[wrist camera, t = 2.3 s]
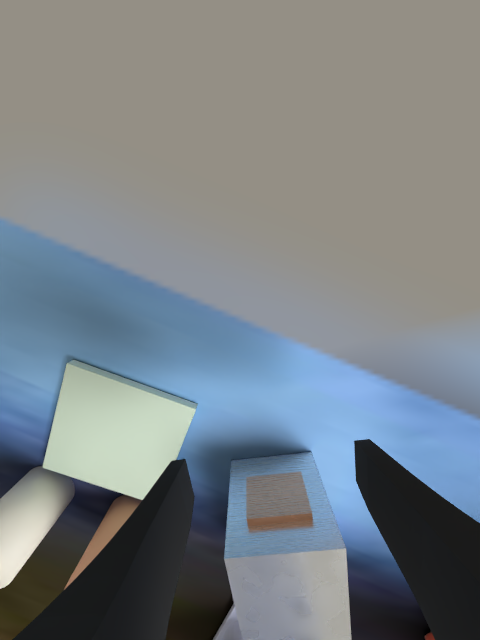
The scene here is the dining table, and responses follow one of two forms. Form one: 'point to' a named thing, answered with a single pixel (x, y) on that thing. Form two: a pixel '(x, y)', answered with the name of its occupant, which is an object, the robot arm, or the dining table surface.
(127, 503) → the terracotta peg
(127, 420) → the pad
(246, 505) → the block
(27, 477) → the ivory peg
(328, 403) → the dining table surface
